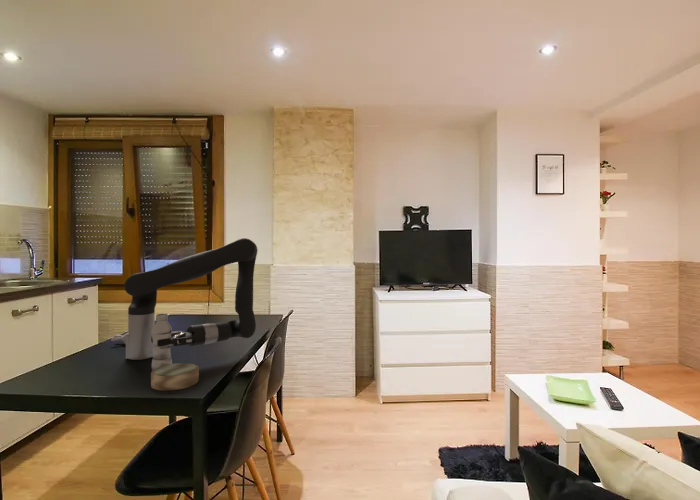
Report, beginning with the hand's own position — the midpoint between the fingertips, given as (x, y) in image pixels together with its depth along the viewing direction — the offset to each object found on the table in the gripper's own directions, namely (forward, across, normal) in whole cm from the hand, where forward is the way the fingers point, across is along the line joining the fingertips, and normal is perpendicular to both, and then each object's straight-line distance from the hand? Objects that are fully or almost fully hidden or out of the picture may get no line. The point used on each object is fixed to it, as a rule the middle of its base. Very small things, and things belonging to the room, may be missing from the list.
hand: (154, 341), depth 134 cm
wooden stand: (-2, +14, +11) cm, 18 cm away
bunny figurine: (-5, -51, +11) cm, 52 cm away
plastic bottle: (-2, 0, +11) cm, 11 cm away
